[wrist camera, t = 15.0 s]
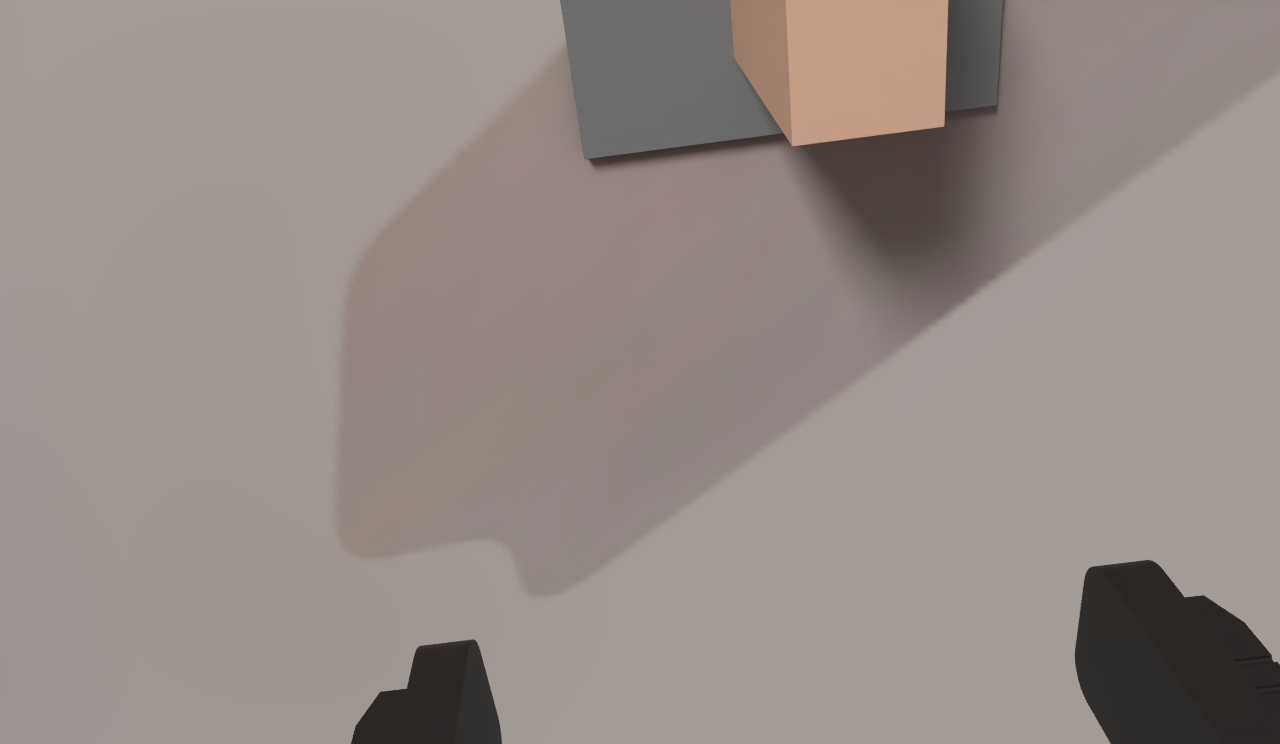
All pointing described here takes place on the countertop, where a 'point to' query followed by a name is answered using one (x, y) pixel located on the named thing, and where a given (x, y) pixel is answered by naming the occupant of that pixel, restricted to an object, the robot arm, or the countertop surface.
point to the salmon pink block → (844, 64)
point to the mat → (715, 72)
